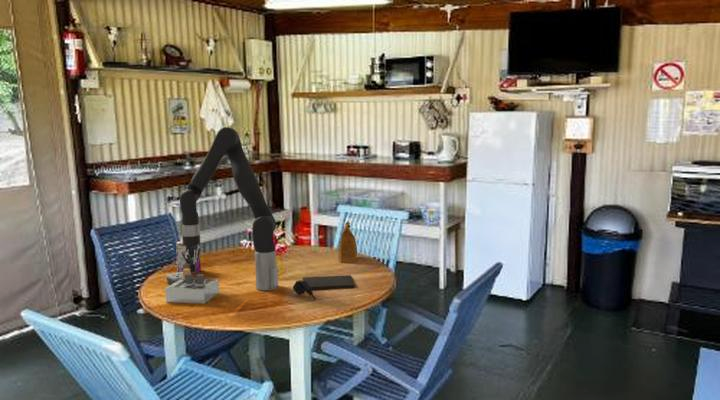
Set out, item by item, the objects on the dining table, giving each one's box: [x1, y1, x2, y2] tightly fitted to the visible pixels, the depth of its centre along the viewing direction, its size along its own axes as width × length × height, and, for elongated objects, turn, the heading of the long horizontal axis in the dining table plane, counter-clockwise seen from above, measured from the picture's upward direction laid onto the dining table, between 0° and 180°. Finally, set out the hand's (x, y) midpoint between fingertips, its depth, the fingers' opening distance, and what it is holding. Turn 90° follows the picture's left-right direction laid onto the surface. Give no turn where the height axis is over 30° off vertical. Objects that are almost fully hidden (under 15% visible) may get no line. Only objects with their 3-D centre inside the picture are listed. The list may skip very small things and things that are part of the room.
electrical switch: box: [164, 272, 183, 285], centre depth 256 cm, size 9×5×9 cm
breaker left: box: [195, 273, 206, 287], centre depth 229 cm, size 3×4×4 cm
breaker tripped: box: [181, 269, 192, 280], centre depth 239 cm, size 3×4×4 cm
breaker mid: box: [184, 273, 195, 286], centre depth 230 cm, size 3×4×4 cm
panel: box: [164, 278, 220, 305], centre depth 234 cm, size 17×15×6 cm
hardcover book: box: [302, 275, 356, 291], centre depth 251 cm, size 16×23×2 cm
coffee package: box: [337, 221, 358, 264], centre depth 288 cm, size 10×12×22 cm
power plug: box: [292, 279, 317, 301], centre depth 233 cm, size 6×8×12 cm
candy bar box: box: [175, 240, 202, 274], centre depth 271 cm, size 11×5×16 cm, turn 111°
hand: (193, 271), depth 245 cm, fingers closed
